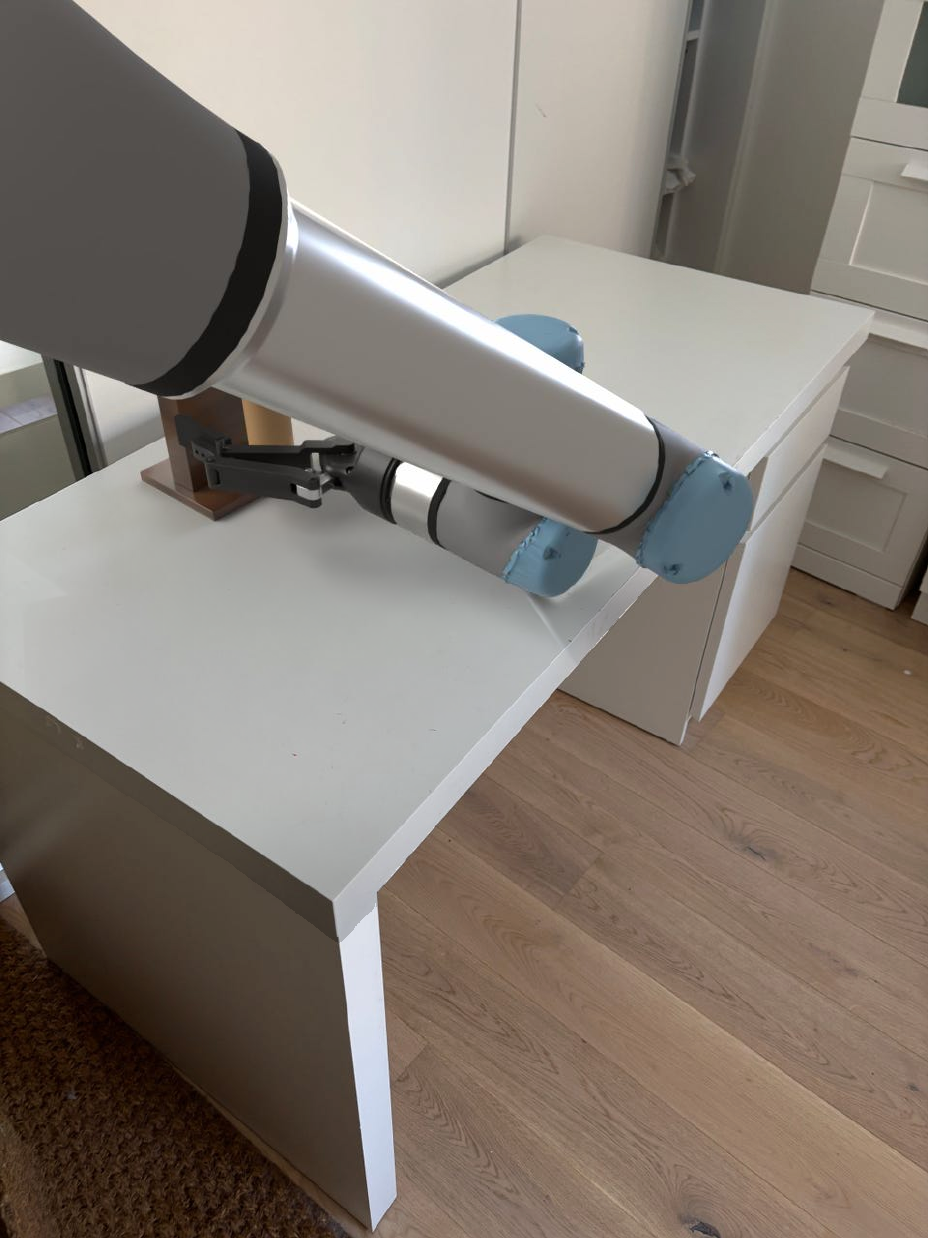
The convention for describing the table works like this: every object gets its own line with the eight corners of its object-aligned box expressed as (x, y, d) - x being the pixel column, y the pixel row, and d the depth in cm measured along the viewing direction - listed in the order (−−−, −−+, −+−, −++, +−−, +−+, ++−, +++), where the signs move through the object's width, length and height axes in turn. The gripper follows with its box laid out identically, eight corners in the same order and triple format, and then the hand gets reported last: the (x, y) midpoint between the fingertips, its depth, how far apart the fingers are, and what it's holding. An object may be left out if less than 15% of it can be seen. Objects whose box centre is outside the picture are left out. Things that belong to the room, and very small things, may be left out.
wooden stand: (346, 497, 93) (334, 328, 83) (259, 547, 87) (234, 370, 76) (228, 438, 102) (204, 278, 91) (141, 480, 95) (103, 312, 84)
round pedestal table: (236, 508, 85) (208, 354, 76) (219, 460, 91) (192, 313, 83) (335, 488, 87) (320, 337, 78) (312, 444, 94) (295, 299, 85)
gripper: (306, 593, 72) (133, 492, 82) (509, 463, 87) (341, 391, 97) (297, 509, 67) (114, 412, 77) (513, 386, 82) (336, 319, 92)
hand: (240, 400), depth 87 cm, fingers open, 13 cm apart
